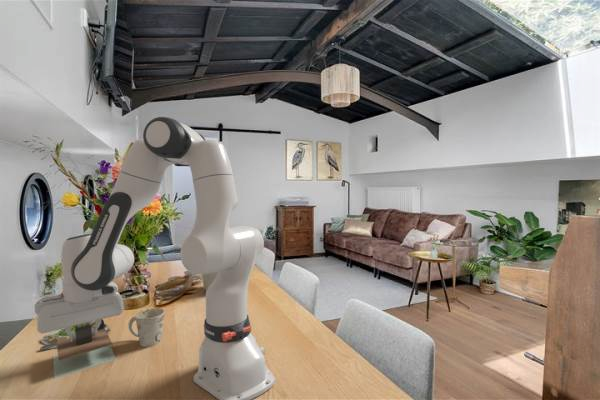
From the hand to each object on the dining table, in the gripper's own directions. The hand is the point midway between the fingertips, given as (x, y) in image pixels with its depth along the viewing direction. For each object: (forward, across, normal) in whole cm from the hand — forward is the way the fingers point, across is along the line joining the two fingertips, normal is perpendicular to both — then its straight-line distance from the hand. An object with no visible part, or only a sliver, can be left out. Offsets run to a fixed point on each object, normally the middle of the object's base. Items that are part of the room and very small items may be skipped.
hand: (83, 337), depth 89 cm
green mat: (+7, 0, +1) cm, 7 cm away
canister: (+7, +57, +33) cm, 67 cm away
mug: (+7, +16, 0) cm, 18 cm away
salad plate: (+7, 0, +20) cm, 21 cm away
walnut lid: (+2, 0, 0) cm, 2 cm away
